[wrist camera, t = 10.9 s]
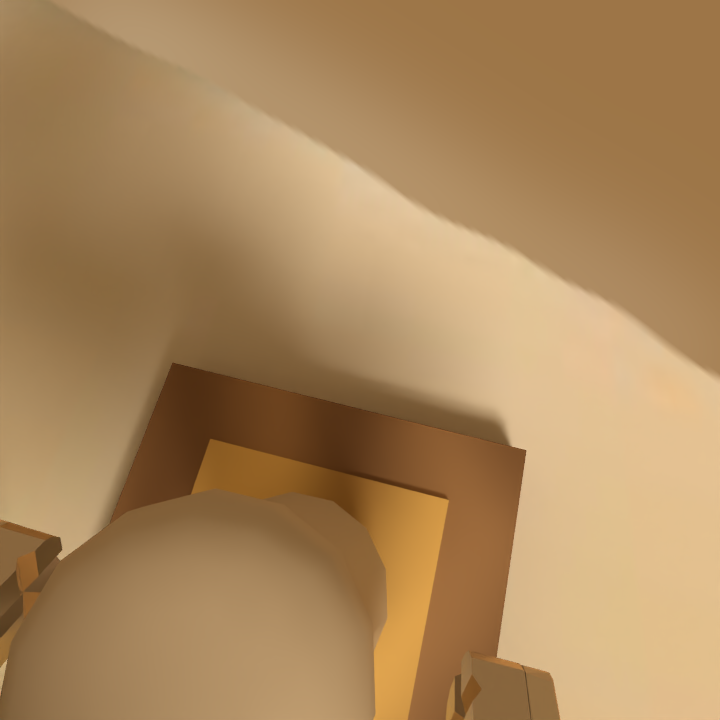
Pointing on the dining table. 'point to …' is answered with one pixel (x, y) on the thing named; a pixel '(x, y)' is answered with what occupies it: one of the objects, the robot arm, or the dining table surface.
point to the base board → (358, 509)
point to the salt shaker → (206, 617)
